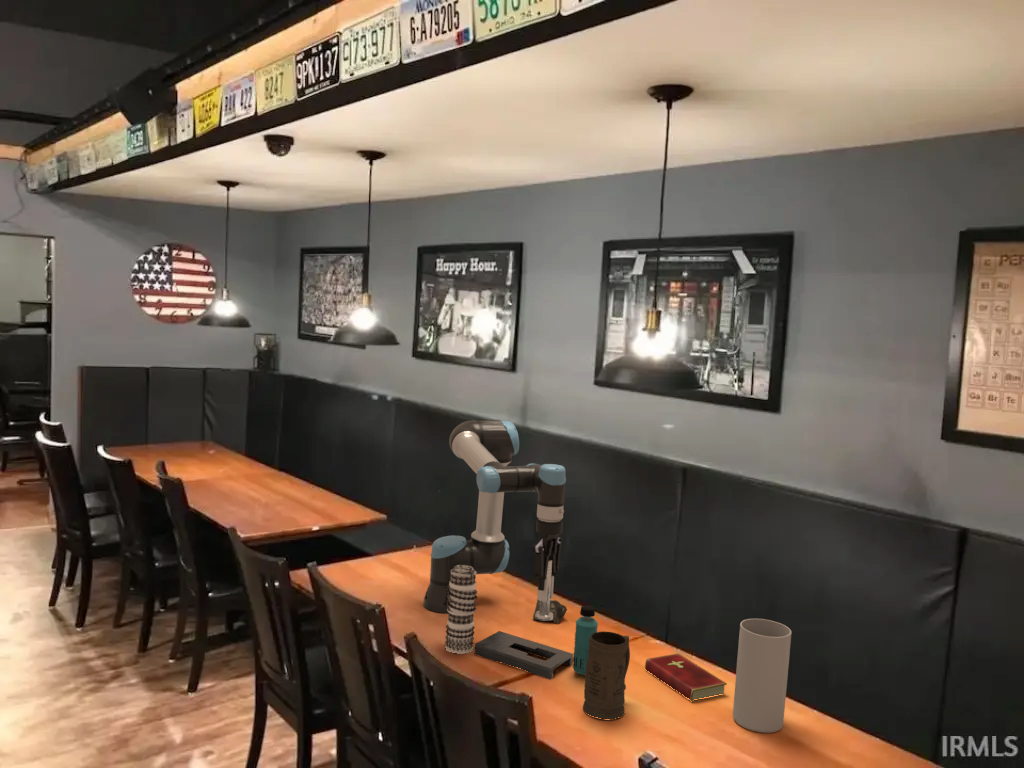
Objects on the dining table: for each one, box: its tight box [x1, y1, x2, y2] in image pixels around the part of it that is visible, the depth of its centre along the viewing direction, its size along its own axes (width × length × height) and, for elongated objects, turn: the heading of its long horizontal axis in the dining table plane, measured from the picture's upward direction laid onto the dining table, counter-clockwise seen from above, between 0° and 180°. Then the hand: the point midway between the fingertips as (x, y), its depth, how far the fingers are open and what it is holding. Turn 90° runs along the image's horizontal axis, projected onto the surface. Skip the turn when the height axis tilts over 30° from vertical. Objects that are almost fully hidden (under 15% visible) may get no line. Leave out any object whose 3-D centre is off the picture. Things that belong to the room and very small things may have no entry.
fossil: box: [532, 599, 568, 625], centre depth 274 cm, size 11×9×10 cm
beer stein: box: [582, 631, 631, 719], centre depth 213 cm, size 15×11×20 cm
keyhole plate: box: [473, 630, 574, 680], centre depth 241 cm, size 26×13×3 cm, turn 57°
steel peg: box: [534, 559, 553, 622], centre depth 235 cm, size 5×5×17 cm
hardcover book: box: [644, 652, 727, 702], centre depth 231 cm, size 12×21×4 cm, turn 27°
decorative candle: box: [444, 565, 479, 655], centre depth 245 cm, size 9×9×25 cm
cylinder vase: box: [732, 618, 792, 734], centre depth 210 cm, size 12×12×25 cm
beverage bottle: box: [572, 604, 599, 676], centre depth 231 cm, size 6×7×20 cm
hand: (545, 598), depth 236 cm, fingers closed on steel peg, 3 cm apart
